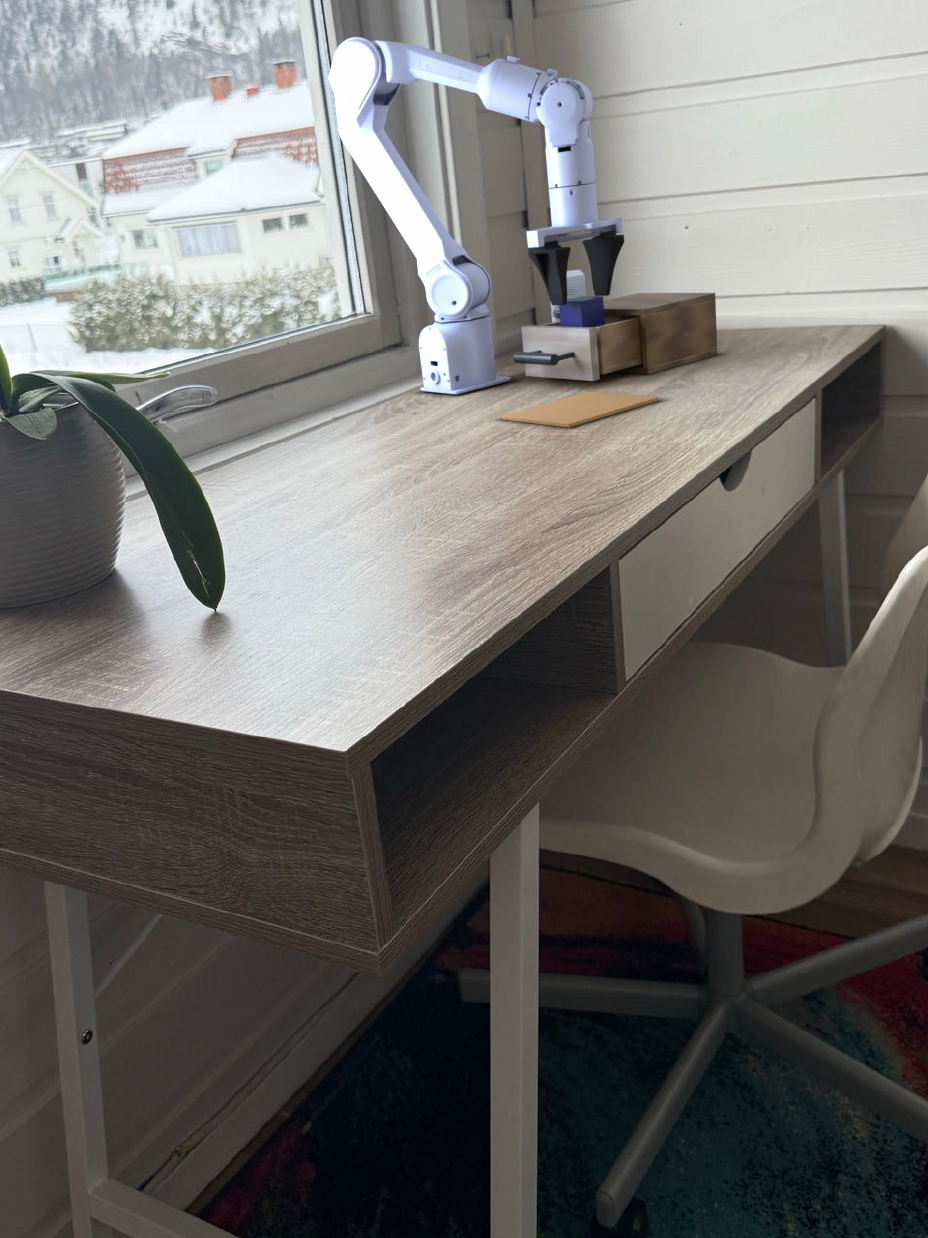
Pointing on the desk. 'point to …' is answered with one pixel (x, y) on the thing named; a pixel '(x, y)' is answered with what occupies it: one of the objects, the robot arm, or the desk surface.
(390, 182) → the robot arm
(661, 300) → the cabinet
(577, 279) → the ink box
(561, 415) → the cork pad
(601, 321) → the navy block
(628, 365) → the drawer
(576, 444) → the desk surface
